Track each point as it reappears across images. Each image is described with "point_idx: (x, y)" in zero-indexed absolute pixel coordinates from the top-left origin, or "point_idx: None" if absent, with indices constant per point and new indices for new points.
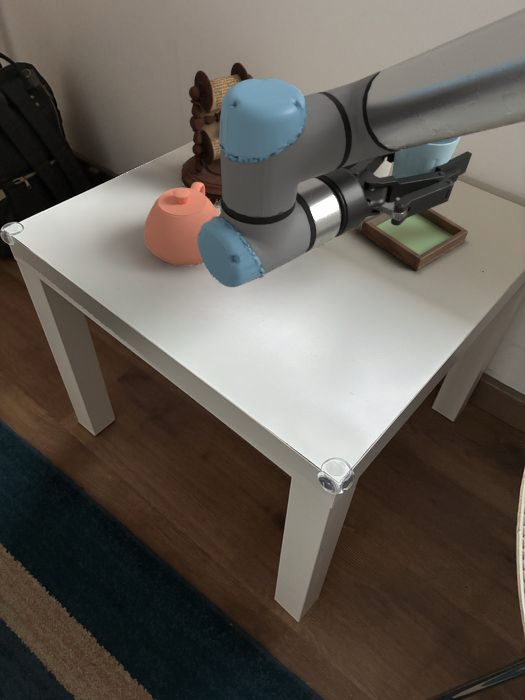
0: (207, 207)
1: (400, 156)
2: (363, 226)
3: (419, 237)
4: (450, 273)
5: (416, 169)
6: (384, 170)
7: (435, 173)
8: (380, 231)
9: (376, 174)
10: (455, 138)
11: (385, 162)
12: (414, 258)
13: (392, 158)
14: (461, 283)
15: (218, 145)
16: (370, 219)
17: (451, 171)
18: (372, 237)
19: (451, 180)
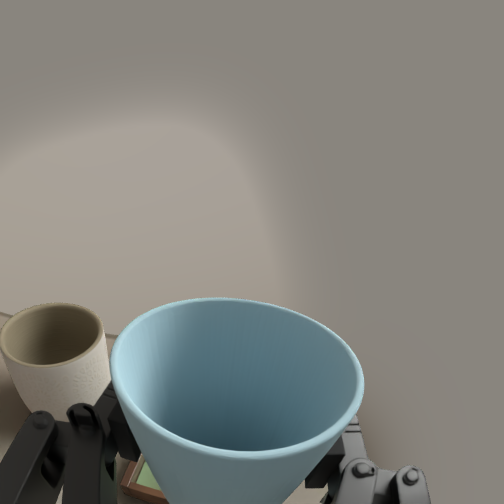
0: None
1: (185, 487)
2: (124, 489)
3: None
4: (293, 492)
5: (269, 498)
6: (104, 383)
7: (351, 481)
8: (158, 494)
9: (96, 394)
10: (307, 342)
11: (101, 373)
12: None
13: (136, 452)
14: (317, 496)
15: None
16: (128, 475)
17: (347, 430)
18: (149, 500)
19: (405, 467)
